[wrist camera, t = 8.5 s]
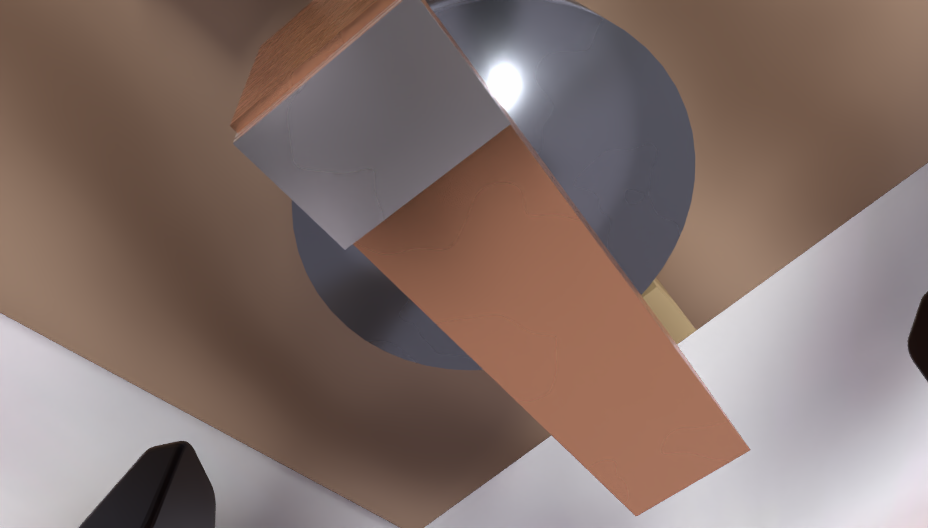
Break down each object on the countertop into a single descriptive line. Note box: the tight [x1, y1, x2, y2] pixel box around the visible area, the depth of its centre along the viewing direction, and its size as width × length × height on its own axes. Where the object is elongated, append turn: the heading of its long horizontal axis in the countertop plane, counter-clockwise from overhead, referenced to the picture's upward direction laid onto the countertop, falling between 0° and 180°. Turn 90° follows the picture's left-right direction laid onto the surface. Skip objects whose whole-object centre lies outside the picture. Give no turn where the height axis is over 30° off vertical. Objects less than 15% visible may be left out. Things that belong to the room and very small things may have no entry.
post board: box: [0, 0, 928, 528], centre depth 14 cm, size 22×20×3 cm
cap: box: [230, 0, 750, 516], centre depth 11 cm, size 9×7×6 cm
